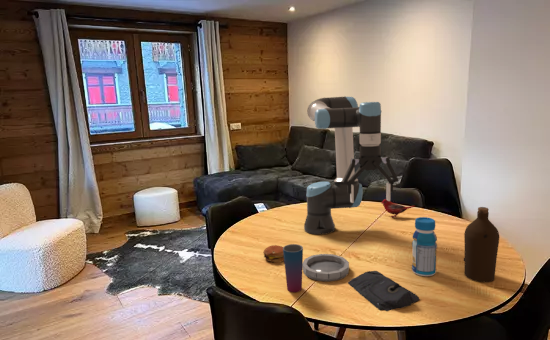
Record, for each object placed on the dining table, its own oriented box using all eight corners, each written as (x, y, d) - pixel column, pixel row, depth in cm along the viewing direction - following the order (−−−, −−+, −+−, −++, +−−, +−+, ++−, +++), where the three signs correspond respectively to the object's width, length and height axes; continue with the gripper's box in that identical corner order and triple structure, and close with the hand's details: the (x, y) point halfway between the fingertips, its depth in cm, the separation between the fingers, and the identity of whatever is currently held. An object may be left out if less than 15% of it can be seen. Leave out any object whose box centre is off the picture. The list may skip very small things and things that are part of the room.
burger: (284, 252, 162) (284, 242, 161) (289, 261, 153) (289, 250, 152) (261, 255, 160) (261, 245, 159) (265, 264, 151) (265, 253, 150)
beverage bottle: (424, 279, 132) (426, 225, 129) (406, 270, 140) (407, 218, 136) (441, 273, 136) (443, 220, 132) (422, 264, 144) (424, 214, 140)
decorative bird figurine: (380, 216, 202) (380, 198, 201) (414, 216, 200) (415, 198, 198) (381, 218, 200) (381, 199, 198) (415, 218, 197) (416, 199, 195)
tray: (294, 272, 143) (293, 264, 142) (321, 257, 154) (321, 250, 154) (330, 286, 131) (330, 278, 130) (357, 269, 142) (357, 261, 142)
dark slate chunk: (380, 274, 139) (380, 262, 138) (423, 303, 118) (424, 289, 117) (344, 283, 133) (344, 271, 132) (383, 315, 113) (383, 300, 112)
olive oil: (503, 280, 129) (509, 210, 124) (478, 285, 127) (482, 214, 122) (480, 267, 139) (484, 202, 135) (455, 272, 137) (458, 205, 132)
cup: (283, 284, 133) (281, 244, 130) (302, 283, 134) (301, 243, 131) (285, 294, 127) (284, 252, 124) (305, 292, 127) (304, 251, 124)
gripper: (337, 147, 134) (338, 205, 138) (407, 144, 133) (406, 202, 137) (334, 145, 141) (335, 199, 145) (401, 142, 141) (400, 197, 145)
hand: (370, 201), depth 141 cm, fingers open, 13 cm apart
